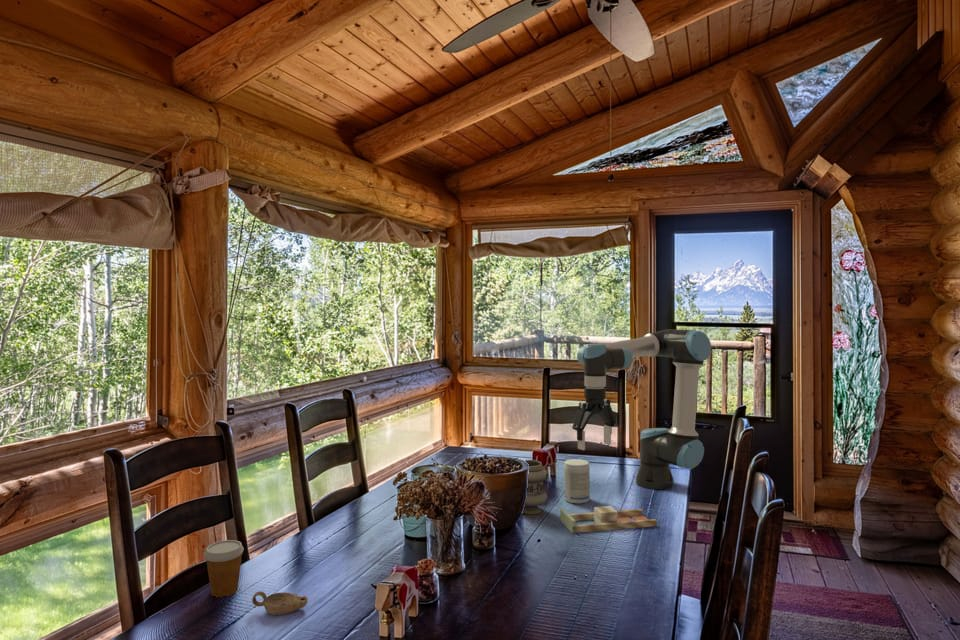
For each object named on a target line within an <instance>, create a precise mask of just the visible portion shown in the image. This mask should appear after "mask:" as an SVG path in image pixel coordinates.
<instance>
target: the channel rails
mask: <svg viewBox="0 0 960 640" xmlns="http://www.w3.org/2000/svg"><path fill="white" fill-rule="evenodd" d="M616 511H617V512H618V515H617V517H625V516H627V517H629V518H631V517H630V516H638V515H643V516H644V510H643V509H642V508H637V509H623V510H622V509H621V510H616ZM568 514H569V515H570V516H571V517H572V518H573V519H574V520H575V522H577V521H579V522H580V521H590V520H594V511H593V512H581V513H568ZM657 526H658V520H657V519H656V518H651V519H649V520H636V521H635V520H632V521H623V522H618V521H617V522H610V523H597V524H596V523H587V524H586V523H585V524H575V527H573V529H574V528H575V531H574V530H573V531H572V533H571V534H574V532H575V533H577V534H578V533H587V532H590V533H591V532H600V531H611V530H612V531H613V530H624V529H637V528H648V527H649V528H651V527H657Z"/></svg>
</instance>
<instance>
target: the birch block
mask: <svg viewBox="0 0 960 640" xmlns="http://www.w3.org/2000/svg"><path fill="white" fill-rule="evenodd" d="M617 511H618V510H616V509H615V508H614V507H612V506H611V505H605V506H594V507H593V512H594V519H593V522H594V524H597V523H610V522H618V521H617V515H618V512H617Z"/></svg>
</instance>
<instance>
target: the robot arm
mask: <svg viewBox="0 0 960 640" xmlns="http://www.w3.org/2000/svg"><path fill="white" fill-rule="evenodd" d="M711 343H712V342H711V340H710V337H708V335H707V334H706V333H705V332H703V331H700V330H695V329H675V328H672V329H671V328H670V329H664V330H659V331H655V332H651V333H646V334H644V336H643V337H642V336H641V337H636V338H632V339H631V338H630V339H625V340H620V341H615V342H609V343H608V342H607V343H603V344H602V343H588V344H587V343H586V344H585V345H582V346H581V347H579V349H578V350H577V352H576V358H577V362H578V363H579V364H581V365H584V366H583V367H584V371H583V372H584V373H583V374H584V385H583V386H585V387H584V389H583V391H584V392H583V394H584V396H583V398H585V402H582V401H580V402H579V403H578V409H577V413H576V415H575V417H574V418H575V419H574V422H573V425H572V427H571V428H572V430H574V431H576V441H577V450H582V451H586V431H584V430H585V429H586V426H587V424H588V423H589V421H590V419H591V417H593V415H597V414H598V415H599V416H600V418H601V419H602V421H603V422H604V424H605V425H603V444H605V445H608V446H609V445H610V446H611V445H612V433H613V432H612V431H613V430H612V429H613V427H615V424H616V422H617V420H616V418H615V414H614V412H613V411H614V410H612V409H613V408H612V405H611V399H610V398H609V399H608V398H606V395H607V394H606V392H607V390H606V388H605V387H607V371H610V370H623V369H629V367H631V366H632V363H633V359H635V358H640V357H645V356H648V357H649V358H650V357H651V358H653V357H654V358H655V357H665V358H666V357H667V358H671V359H672V364H673V365H674V366H675V378H674V379H675V381H674V382H675V383H674V394H673V395H674V396H673V407H672V408H673V409H672V422H671V424H672V425H671V427H670V428H667V427H652V428H645V429H644V428H643V429H642V430H641V431H640V439H639V441H640V442H639V443H640V445H639V446H640V447H639V450H640V451H639V453H640V459H639V461H640V462H639V463H640V464H639V467H638V470H637V473H636V476H635V484H636V485H638V486H640V487H642V488H646V489H652V490H665V489H666V490H667V489H671V488H673V487H674V484H675V481H674V477H673V473H672V471H671V467H670V465H673V466H676V467H679V468H681V469H688V470H691V469H694V468H696V467H697V466H698V465H699V464H700V463H701V462H702V461H703V458H704V454H705V447H704V444H703V442H701V440H699V432H697V431H696V429H695V428H696V418H697V416H696V415H697V401H698V389H699V388H698V387H699V374H700V369H701V368H702V367H703V366H704V363H705V362H704V361H706V360H708V359H709V357H710V355H711V353H712V344H711Z"/></svg>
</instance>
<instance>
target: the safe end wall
mask: <svg viewBox="0 0 960 640" xmlns="http://www.w3.org/2000/svg"><path fill="white" fill-rule="evenodd" d="M559 511H560V519H559V521H560V522H561V523H562V524H563V525H564V526H565V527H566V528H567V529H568V530H569V532H571V534H574V533H575V532H574V533H572V531H573V530H574V531H575V528H574V529H573V527H575V525H576V521H575V520H574V519H573V518H572V517H571V516H570V515H569V514H570V513H569V512H568V511H566V510H565V508H560V510H559Z"/></svg>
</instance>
